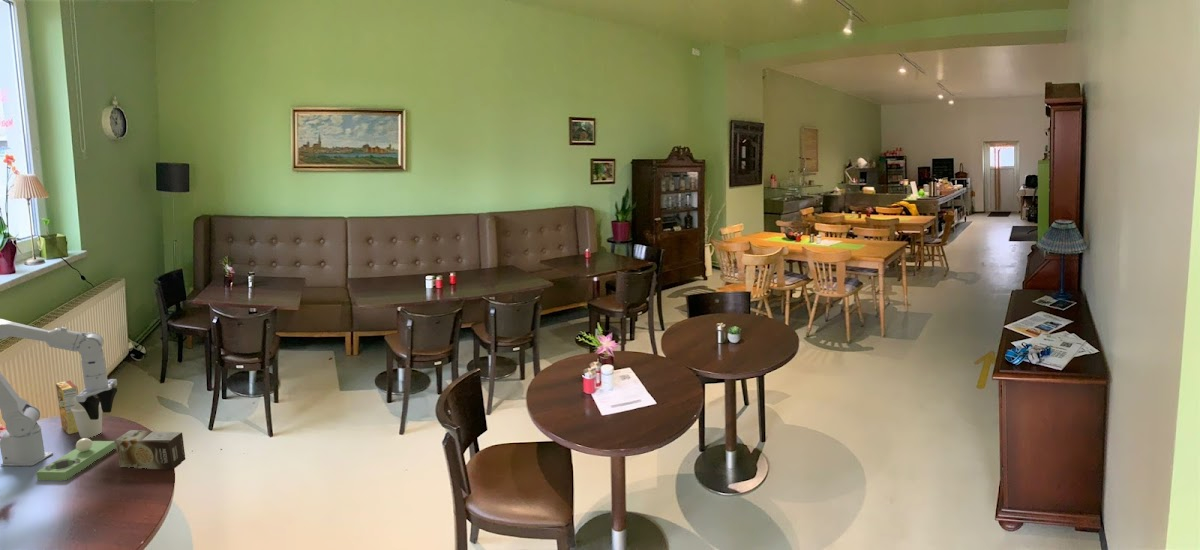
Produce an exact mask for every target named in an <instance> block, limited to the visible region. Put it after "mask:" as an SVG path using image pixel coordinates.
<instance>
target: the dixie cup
mask: <svg viewBox="0 0 1200 550" xmlns="http://www.w3.org/2000/svg"><path fill="white" fill-rule="evenodd" d="M71 410H72V412H73V416H74V419H75V422H76V425H77V428H78V431H79V432H78V435H79V437H80V439H82V438H88V439H91V438H94V437H93V436H95V437H97V436H96V435H98V434H100V433H101V432H102V433H103V411H102V408H101V403H100V402H99V418H98V419H97V420H90V418H89V416H88V414H87V412H86V410H85V409H84V407H83V406H82V405H81V404H80V403H79V404H76V405H74V406H72V407H71ZM102 433H101V434H102ZM101 434H100V435H101ZM98 436H99V435H98ZM90 437H91V438H90Z"/></svg>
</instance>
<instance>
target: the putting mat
mask: <svg viewBox="0 0 1200 550" xmlns="http://www.w3.org/2000/svg"><path fill="white" fill-rule="evenodd" d="M91 441H92V447H91V449H90V450H88V451H86V452H80V451H78V450H77V449H76V448H74V449H73V450H71V451H69V452H68V453H66V454H65V455H63V456H61V457H59V458H58V459H56V460H54V461H52V462H51V463H49V464H47V465H46V466H44V467H42V468H41V469H39V470H37V471H36V473H35V474H36V479H37V481H62V480H66V481H68V480H69V479H71V478H73V477H74V476H76V475H77V474H79V473H80V472H82V471H84V470H85V469H86V467H87V466H88V467H90V466H91V465H93V464H94V463H95V462H94V461H96V460H97V459H99V458H101V457H102V456H104V455H105V454H107V453H108V454H110V453H111V452H110V451H112V450H113V449H115V448H116V449H117V446H116V440H91ZM116 449H115V450H116ZM113 451H114V450H113ZM113 451H112V452H113ZM109 452H110V453H109ZM108 454H107V455H108ZM105 456H106V455H105ZM105 456H104V457H105ZM102 458H103V457H102ZM102 458H101V459H102ZM99 460H100V459H99ZM93 462H94V463H93ZM96 462H97V461H96ZM92 463H93V464H92ZM90 464H91V465H90ZM89 465H90V466H89ZM88 467H87V468H88ZM84 468H85V469H84ZM81 470H82V471H81ZM78 472H79V473H78ZM76 473H77V474H76ZM75 474H76V475H75ZM73 475H74V476H73ZM70 477H71V478H70ZM67 479H68V480H67Z"/></svg>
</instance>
